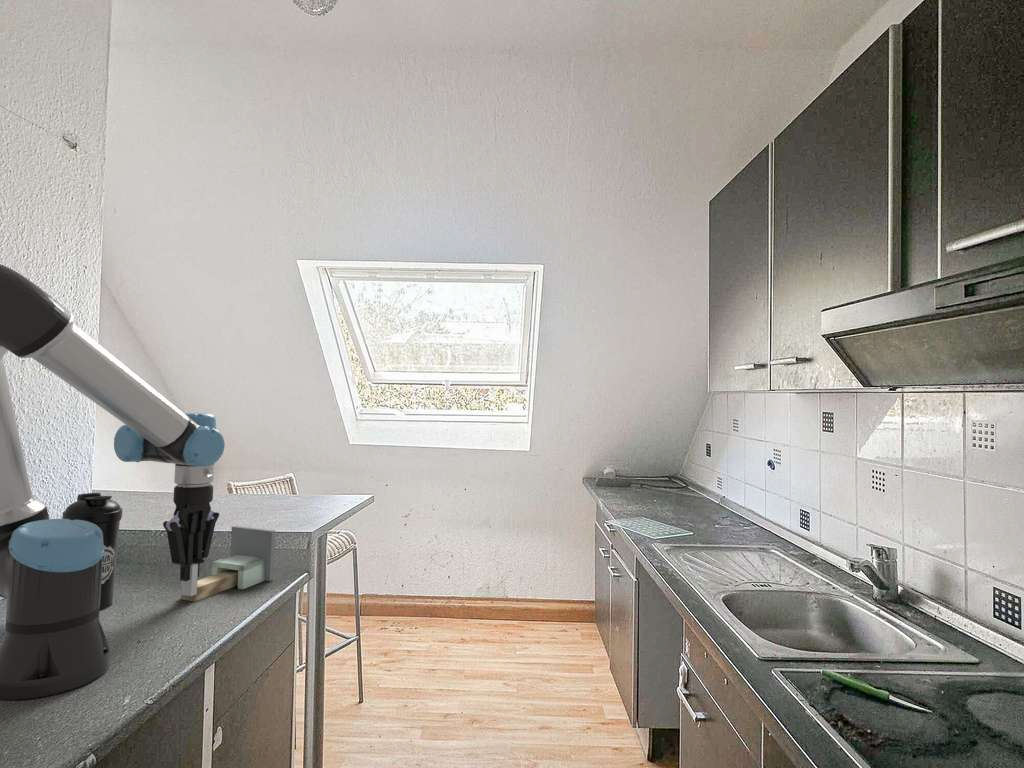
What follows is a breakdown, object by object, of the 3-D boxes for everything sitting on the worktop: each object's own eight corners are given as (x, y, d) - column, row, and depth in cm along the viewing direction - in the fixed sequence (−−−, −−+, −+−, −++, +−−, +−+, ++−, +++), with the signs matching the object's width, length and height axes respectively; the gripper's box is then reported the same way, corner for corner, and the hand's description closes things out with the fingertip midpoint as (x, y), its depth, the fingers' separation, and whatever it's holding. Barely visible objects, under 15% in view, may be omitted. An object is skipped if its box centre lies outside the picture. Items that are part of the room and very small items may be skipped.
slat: (195, 602, 127) (195, 588, 127) (180, 599, 128) (181, 585, 128) (242, 583, 140) (243, 571, 140) (229, 581, 141) (229, 569, 141)
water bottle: (66, 619, 114) (73, 500, 115) (49, 606, 121) (56, 494, 121) (125, 606, 123) (131, 495, 123) (106, 595, 129) (112, 489, 130)
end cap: (248, 590, 135) (250, 537, 136) (206, 583, 139) (208, 532, 139) (273, 580, 143) (275, 530, 144) (232, 574, 147) (235, 525, 147)
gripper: (182, 489, 120) (177, 606, 119) (230, 482, 132) (225, 587, 132) (154, 487, 122) (148, 601, 121) (204, 479, 134) (199, 583, 134)
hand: (188, 594), depth 126 cm, fingers closed
